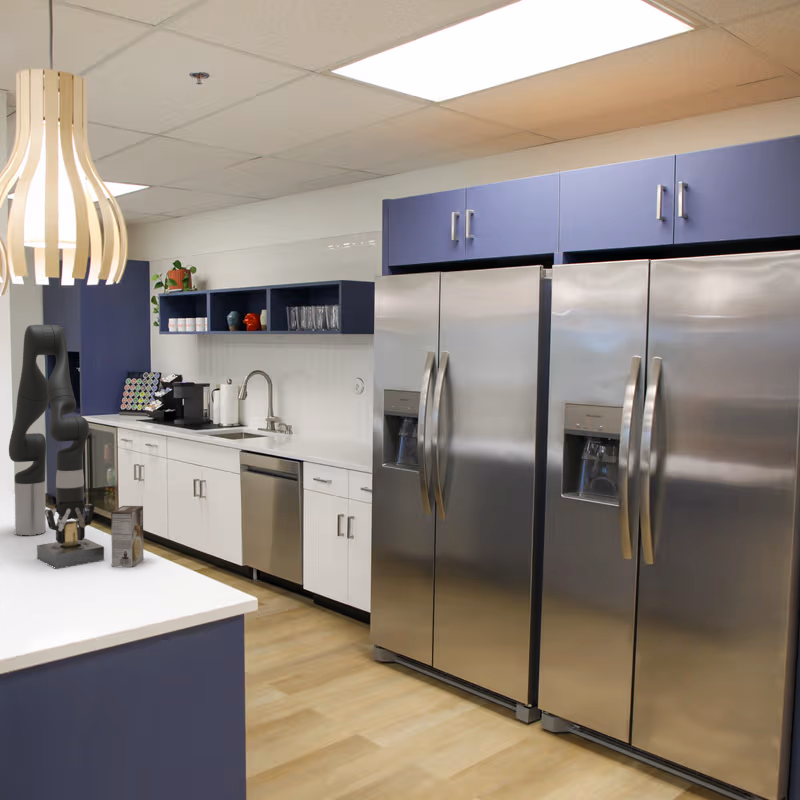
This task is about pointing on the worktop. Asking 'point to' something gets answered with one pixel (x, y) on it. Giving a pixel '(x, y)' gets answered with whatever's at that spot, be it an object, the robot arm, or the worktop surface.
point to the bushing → (70, 535)
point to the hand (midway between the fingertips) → (70, 541)
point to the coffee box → (127, 535)
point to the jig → (70, 553)
